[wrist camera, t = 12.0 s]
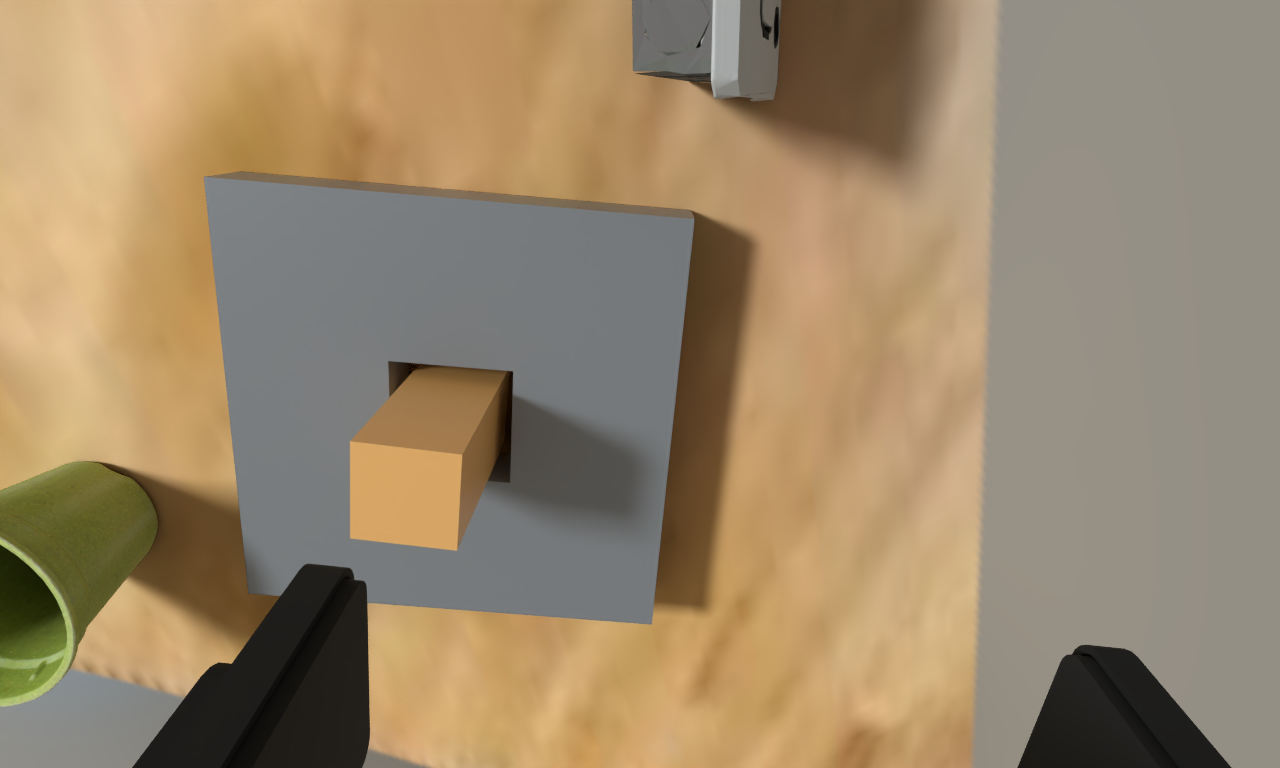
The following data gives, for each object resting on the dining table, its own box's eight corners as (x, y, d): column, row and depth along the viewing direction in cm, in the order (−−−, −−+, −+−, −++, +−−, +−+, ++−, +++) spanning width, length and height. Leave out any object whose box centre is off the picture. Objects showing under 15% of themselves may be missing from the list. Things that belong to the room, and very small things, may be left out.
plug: (426, 356, 36) (349, 441, 27) (509, 366, 37) (462, 454, 27) (424, 432, 38) (350, 538, 28) (504, 441, 38) (457, 550, 29)
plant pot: (71, 608, 42) (-71, 729, 33) (-29, 458, 39) (-211, 551, 30) (223, 564, 41) (116, 678, 32) (133, 407, 38) (-11, 489, 29)
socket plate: (241, 171, 34) (204, 176, 31) (690, 210, 34) (694, 218, 31) (276, 559, 40) (248, 593, 38) (651, 588, 41) (651, 624, 38)
